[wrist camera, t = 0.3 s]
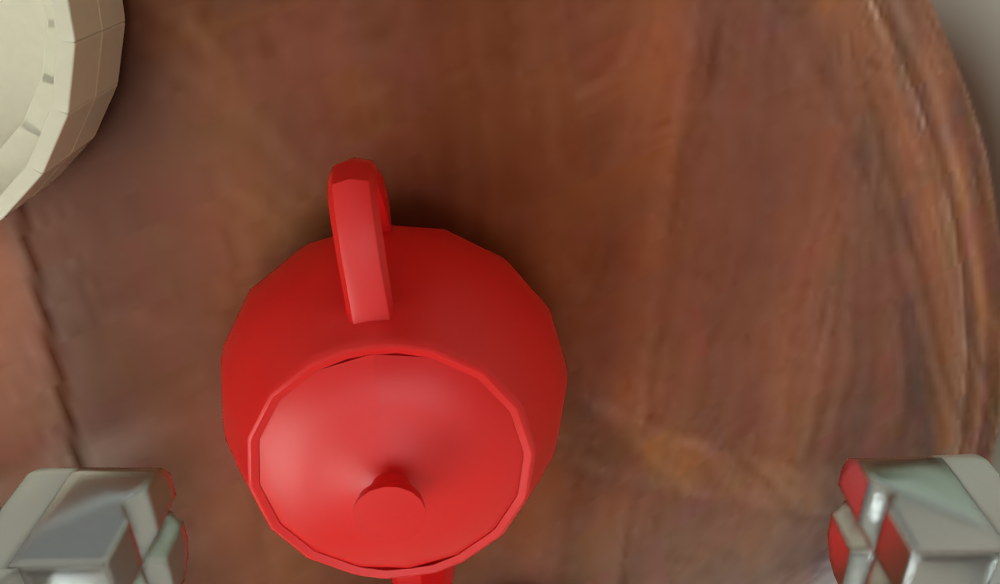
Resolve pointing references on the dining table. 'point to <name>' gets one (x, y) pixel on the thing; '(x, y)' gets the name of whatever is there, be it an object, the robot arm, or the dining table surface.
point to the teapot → (391, 392)
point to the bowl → (52, 87)
